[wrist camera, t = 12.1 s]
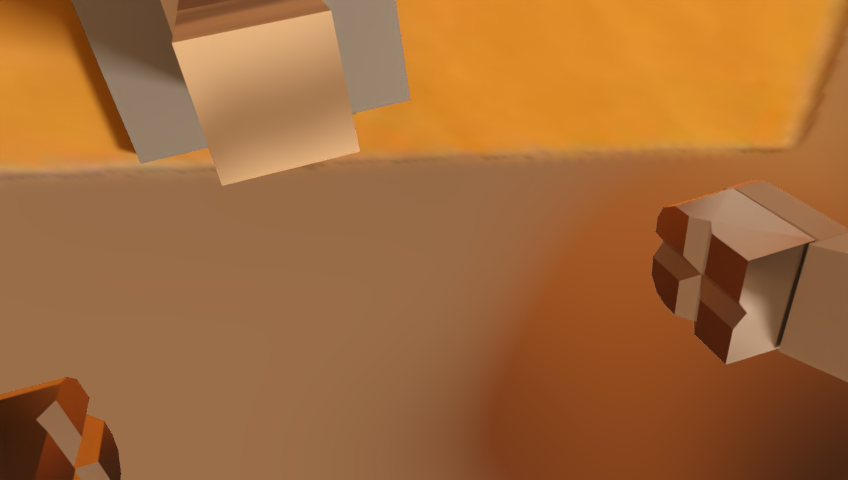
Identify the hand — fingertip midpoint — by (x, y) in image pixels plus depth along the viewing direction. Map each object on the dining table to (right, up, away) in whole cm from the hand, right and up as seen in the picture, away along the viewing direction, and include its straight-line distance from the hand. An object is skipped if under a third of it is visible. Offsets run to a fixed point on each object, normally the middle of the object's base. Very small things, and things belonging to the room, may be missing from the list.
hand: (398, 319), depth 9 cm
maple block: (-6, +8, +16) cm, 19 cm away
